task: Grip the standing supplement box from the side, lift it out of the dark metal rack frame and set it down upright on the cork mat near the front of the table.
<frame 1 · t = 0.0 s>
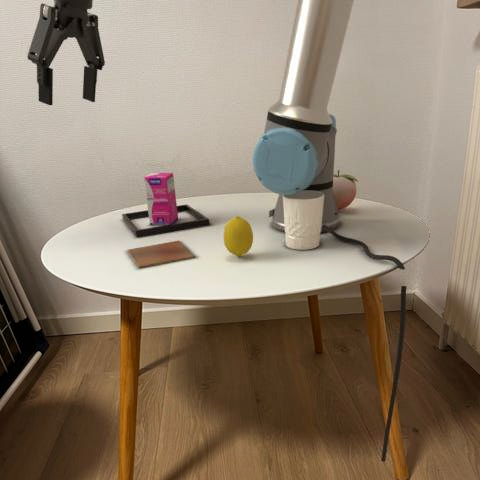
hand: (68, 101, 92), 28 cm above the table, tool tilted 20°, fingers open, 13 cm apart
mat: (160, 254, 86), on the table
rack: (164, 222, 107), on the table
white cup: (302, 245, 87), on the table
decorative fruit: (336, 212, 108), on the table
supplement box: (164, 223, 108), resting in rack
lemon: (239, 258, 83), on the table
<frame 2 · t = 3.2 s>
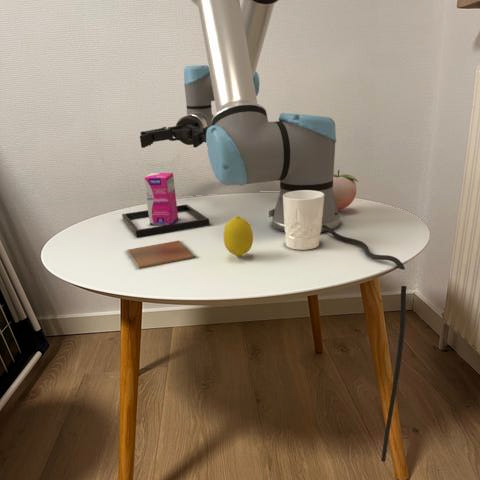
hand: (167, 141, 106), 18 cm above the table, tool horizontal, fingers open, 13 cm apart
nothing on the table moved.
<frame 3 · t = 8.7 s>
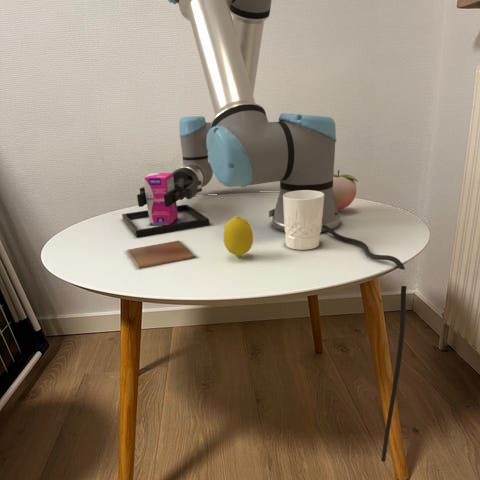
hand: (152, 200, 100), 7 cm above the table, tool horizontal, fingers closed on supplement box, 6 cm apart
supplement box: (164, 223, 108), resting in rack, touching gripper
everything else where it was.
when the fingers open (7 cm above the table, at t = 17.4 s): supplement box stays where it is, resting on mat.
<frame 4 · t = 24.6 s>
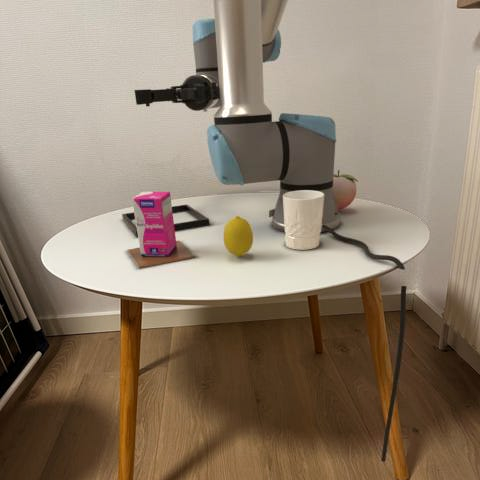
hand: (167, 95, 87), 28 cm above the table, tool horizontal, fingers open, 13 cm apart
supplement box: (159, 253, 86), resting on mat
everything else where it was.
at the end: supplement box inside the target area on the mat (0.1 cm from its centre), point 0.2 cm above the mat's base; supplement box tilted 0°; supplement box touching mat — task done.
